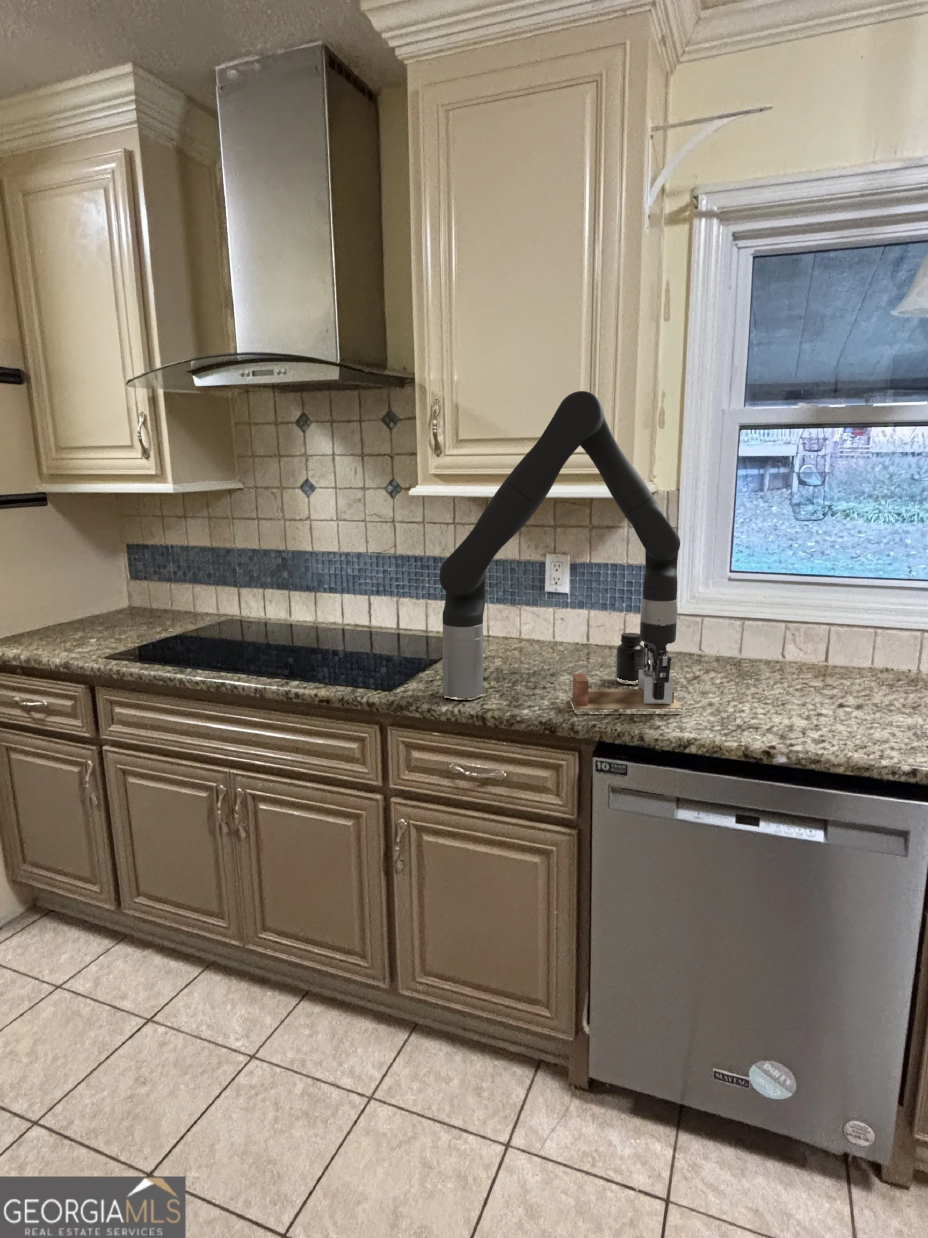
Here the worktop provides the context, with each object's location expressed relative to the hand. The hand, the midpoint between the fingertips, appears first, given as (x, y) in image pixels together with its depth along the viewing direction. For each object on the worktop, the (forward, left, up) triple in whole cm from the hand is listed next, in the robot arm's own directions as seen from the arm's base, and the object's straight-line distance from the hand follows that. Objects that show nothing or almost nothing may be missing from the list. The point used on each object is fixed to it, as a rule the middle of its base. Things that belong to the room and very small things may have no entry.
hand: (654, 694), depth 159 cm
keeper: (0, 0, -1) cm, 1 cm away
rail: (-7, 0, -3) cm, 7 cm away
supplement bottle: (-1, +20, -3) cm, 20 cm away
